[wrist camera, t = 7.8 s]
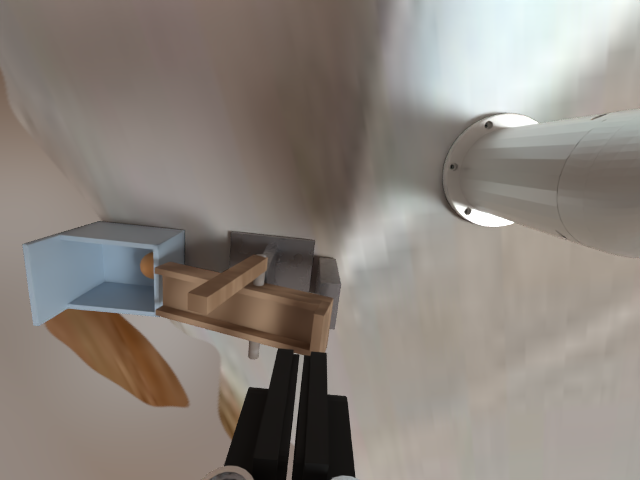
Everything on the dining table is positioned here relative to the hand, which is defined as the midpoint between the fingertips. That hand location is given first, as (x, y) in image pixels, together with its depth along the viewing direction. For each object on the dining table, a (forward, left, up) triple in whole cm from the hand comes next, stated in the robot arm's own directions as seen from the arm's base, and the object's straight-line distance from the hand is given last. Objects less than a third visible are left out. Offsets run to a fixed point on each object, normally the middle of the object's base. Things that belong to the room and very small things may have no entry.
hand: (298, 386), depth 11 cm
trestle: (+3, +7, -28) cm, 28 cm away
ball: (+17, +7, -25) cm, 31 cm away
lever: (+5, +7, -18) cm, 20 cm away
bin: (+20, +7, -28) cm, 35 cm away
